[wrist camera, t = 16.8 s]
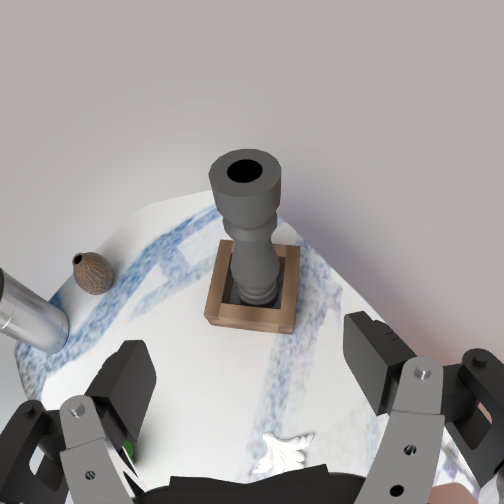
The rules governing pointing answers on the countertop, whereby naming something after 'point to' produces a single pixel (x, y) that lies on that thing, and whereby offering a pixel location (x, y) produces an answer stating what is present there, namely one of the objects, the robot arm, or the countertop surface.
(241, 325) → the socket block
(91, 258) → the vase
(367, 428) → the countertop surface
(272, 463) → the acanthus leaf ornament
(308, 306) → the countertop surface
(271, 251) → the candle holder
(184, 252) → the countertop surface
